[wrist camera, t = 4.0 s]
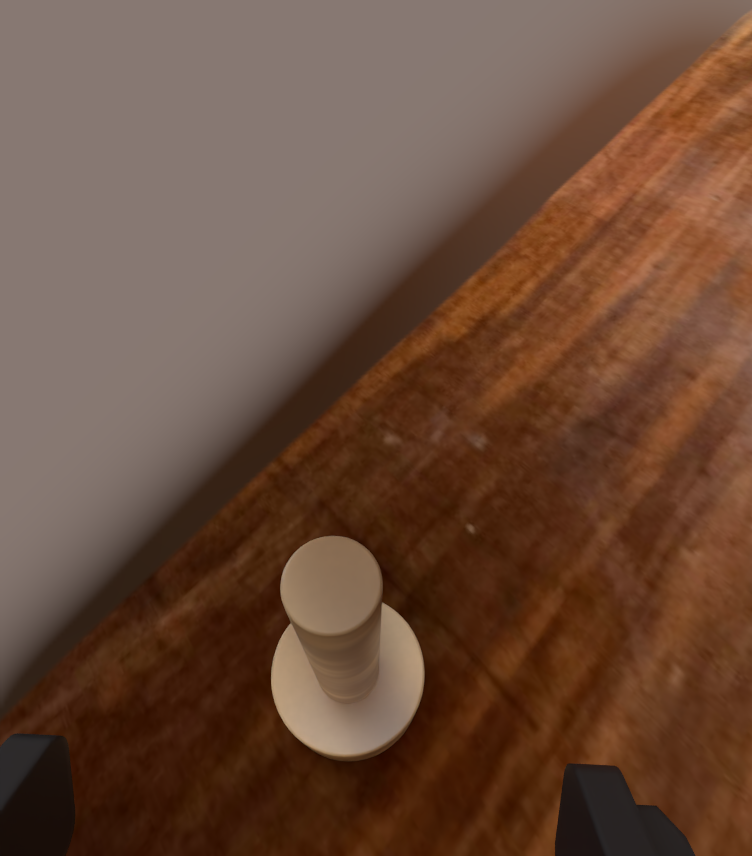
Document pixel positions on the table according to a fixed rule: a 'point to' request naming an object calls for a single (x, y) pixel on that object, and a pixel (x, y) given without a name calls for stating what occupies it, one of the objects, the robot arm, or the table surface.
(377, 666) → the wooden stamp
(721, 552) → the table surface
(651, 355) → the table surface
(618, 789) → the robot arm
